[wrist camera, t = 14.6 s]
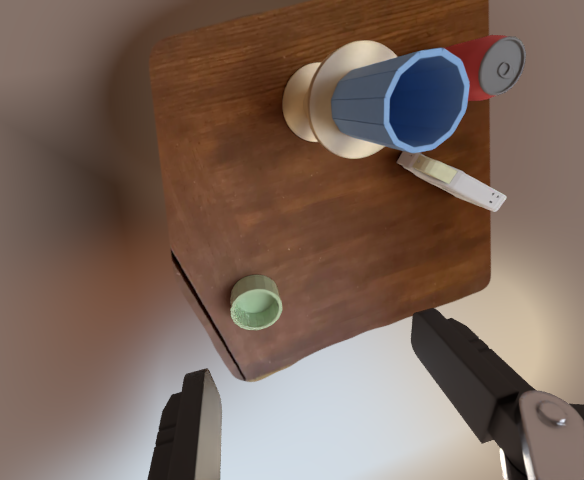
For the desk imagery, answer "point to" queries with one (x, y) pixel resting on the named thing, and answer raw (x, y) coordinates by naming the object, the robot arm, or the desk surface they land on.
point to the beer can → (491, 64)
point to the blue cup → (403, 100)
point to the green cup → (255, 302)
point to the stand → (329, 98)
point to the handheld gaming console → (452, 180)
